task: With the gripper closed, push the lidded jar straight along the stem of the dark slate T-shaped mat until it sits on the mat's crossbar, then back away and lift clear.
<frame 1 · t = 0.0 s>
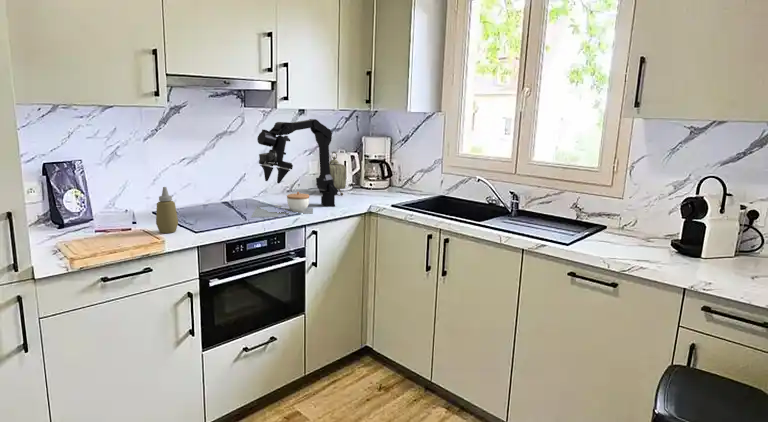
hand: (272, 182, 229), 15 cm above the worktop, tool pointing down, fingers open, 9 cm apart
olive tall container: (333, 194, 291), on the worktop
lidded jar: (298, 211, 241), resting on t mat
t mat: (283, 212, 241), on the worktop
squeeze bottle: (167, 232, 197), on the worktop
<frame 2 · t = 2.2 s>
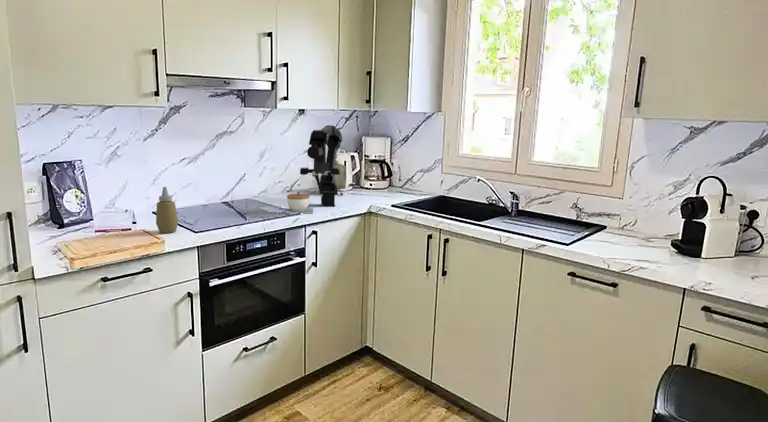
hand: (319, 188, 241), 11 cm above the worktop, tool pointing down, fingers closed
nothing on the worktop moved.
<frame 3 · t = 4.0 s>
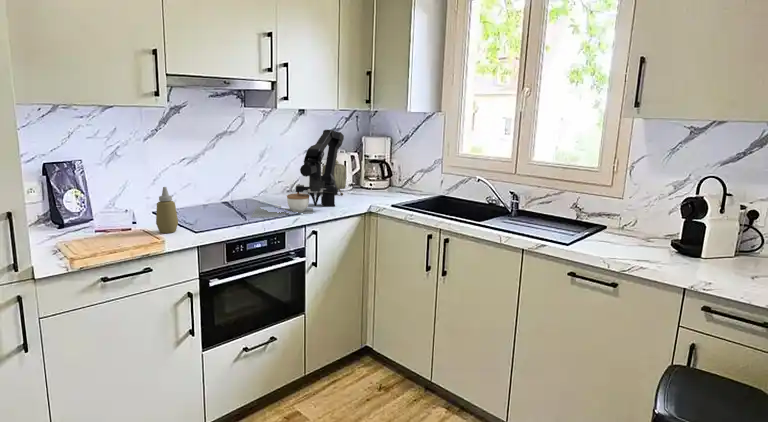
hand: (315, 205, 242), 3 cm above the worktop, tool pointing down, fingers closed
lidded jar: (298, 211, 241), resting on t mat, touching gripper
everything else where it was.
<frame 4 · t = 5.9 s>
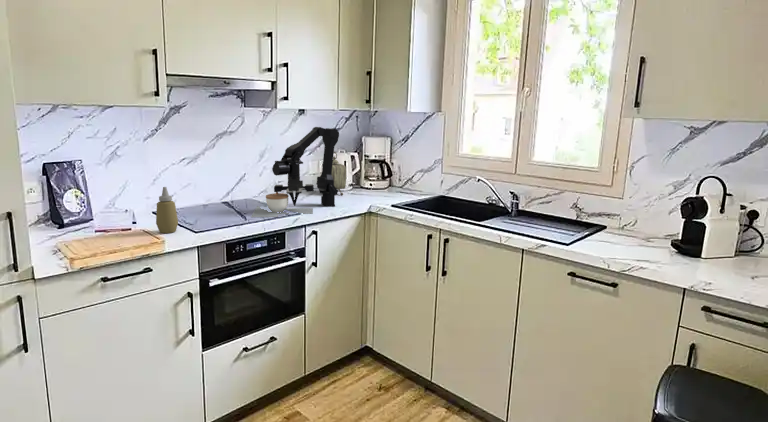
hand: (294, 205, 241), 3 cm above the worktop, tool pointing down, fingers closed
lidded jar: (277, 211, 240), resting on t mat, touching gripper
everything else where it was.
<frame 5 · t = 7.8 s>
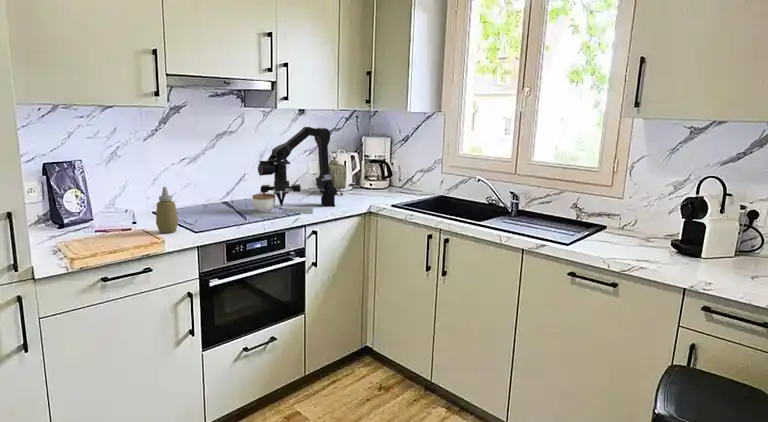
hand: (281, 205, 240), 3 cm above the worktop, tool pointing down, fingers closed
lidded jar: (264, 211, 239), resting on t mat, touching gripper
everything else where it was.
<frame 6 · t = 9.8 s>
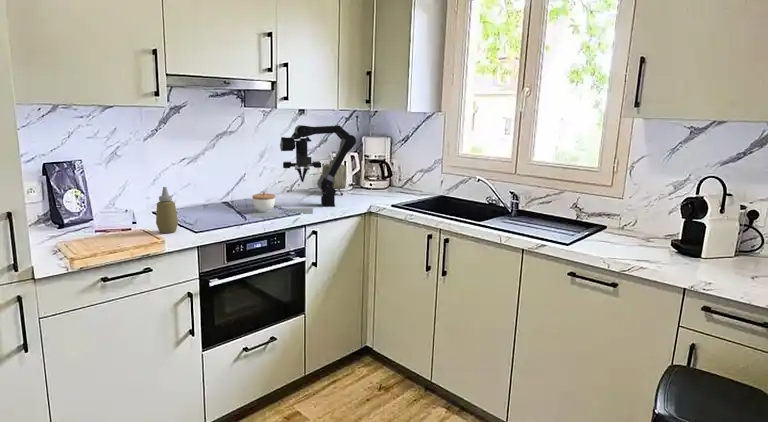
hand: (302, 181, 249), 13 cm above the worktop, tool pointing down, fingers closed
lidded jar: (264, 211, 239), resting on t mat
everything else where it was.
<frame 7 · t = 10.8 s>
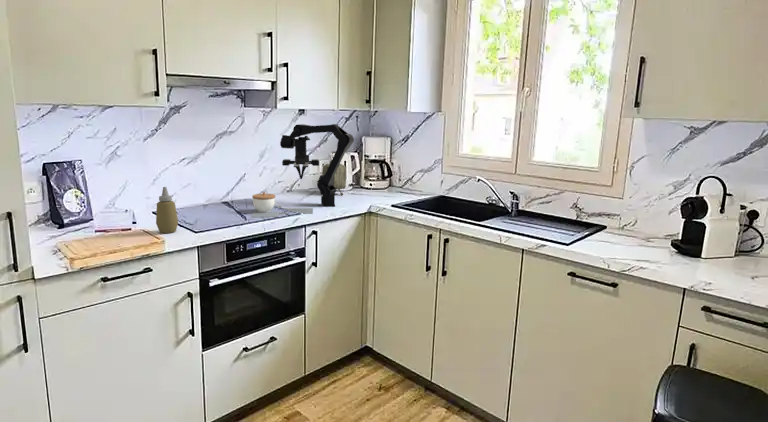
hand: (301, 179, 258), 13 cm above the worktop, tool pointing down, fingers closed
nothing on the worktop moved.
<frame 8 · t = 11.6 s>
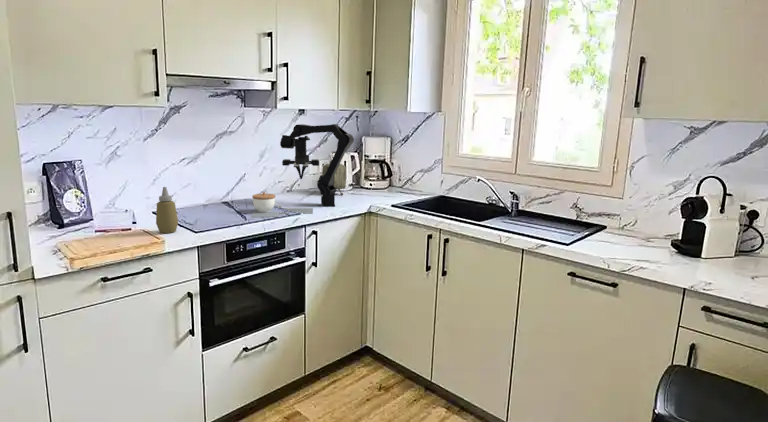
hand: (301, 179, 258), 13 cm above the worktop, tool pointing down, fingers closed
nothing on the worktop moved.
at the end: lidded jar inside the target area on the t mat (1.2 cm from its centre), point 0.4 cm above the t mat's base; lidded jar tilted 0°; the gripper is holding nothing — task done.
